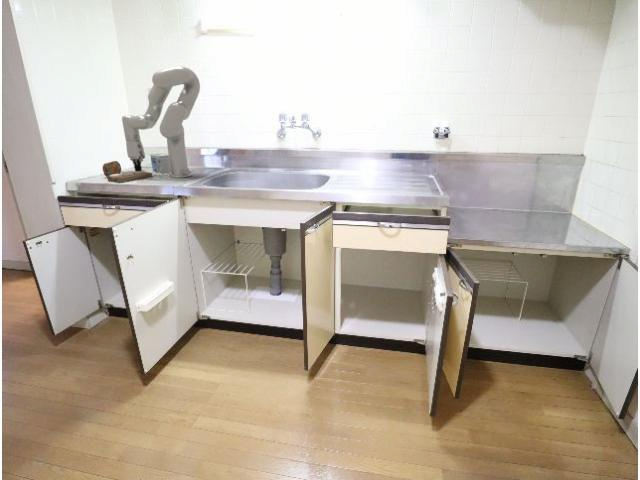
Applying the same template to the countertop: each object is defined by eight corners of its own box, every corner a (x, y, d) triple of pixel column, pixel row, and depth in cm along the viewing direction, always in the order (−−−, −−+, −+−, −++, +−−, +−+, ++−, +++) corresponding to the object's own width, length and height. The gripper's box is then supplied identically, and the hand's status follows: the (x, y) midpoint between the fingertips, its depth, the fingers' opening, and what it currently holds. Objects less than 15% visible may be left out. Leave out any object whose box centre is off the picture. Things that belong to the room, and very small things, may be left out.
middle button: (134, 175, 206) (133, 170, 205) (126, 177, 202) (125, 171, 201) (129, 175, 208) (128, 169, 207) (122, 176, 205) (121, 171, 204)
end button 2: (145, 175, 212) (144, 170, 211) (138, 177, 208) (137, 171, 207) (140, 175, 214) (140, 170, 213) (134, 176, 211) (133, 171, 210)
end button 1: (122, 179, 201) (121, 174, 200) (115, 181, 197) (114, 175, 196) (118, 179, 203) (117, 173, 202) (110, 180, 199) (109, 175, 198)
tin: (108, 178, 207) (105, 163, 204) (103, 178, 207) (100, 163, 204) (122, 173, 221) (120, 159, 218) (117, 173, 221) (115, 160, 218)
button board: (152, 177, 210) (151, 172, 209) (119, 183, 194) (118, 178, 193) (140, 175, 216) (140, 170, 215) (107, 181, 200) (106, 176, 199)
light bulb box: (152, 171, 227) (149, 154, 223) (162, 170, 232) (159, 153, 229) (162, 173, 222) (160, 155, 218) (172, 171, 227) (169, 154, 223)
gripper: (147, 138, 203) (152, 171, 210) (131, 137, 210) (136, 169, 217) (134, 139, 197) (140, 173, 204) (118, 138, 204) (124, 170, 211)
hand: (138, 171), depth 210 cm, fingers closed
